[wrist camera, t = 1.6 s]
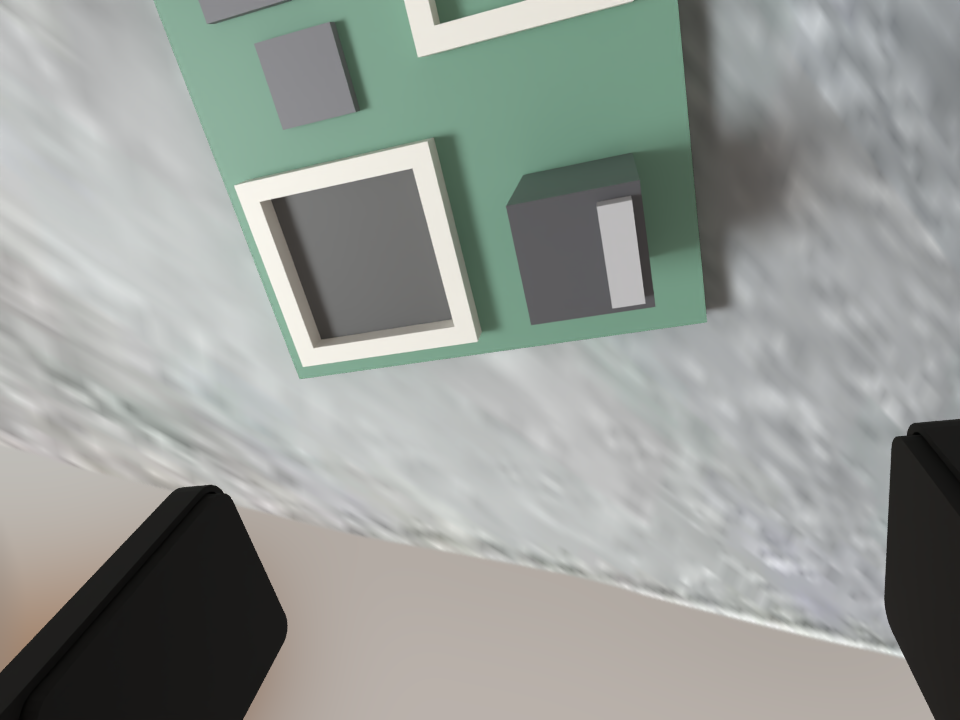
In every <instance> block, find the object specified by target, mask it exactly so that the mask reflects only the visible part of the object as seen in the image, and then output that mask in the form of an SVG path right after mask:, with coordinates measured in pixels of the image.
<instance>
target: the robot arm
mask: <svg viewBox="0 0 960 720" xmlns="http://www.w3.org/2000/svg"><path fill="white" fill-rule="evenodd" d="M884 600H885V610H886V614H887V619H888V622H889V625H890V627H891V630H892V632H893V634H894V636H895V638H896V640H897V642H898V644H899V646H900V649H901V651H902V653H903V655H904V657H905V659H906V661H907V663H908V665H909V667H910V669H911V671H912V673H913V675H914V677H915V679H916V681H917V683H918V685H919V687H920V690H921V692H922V693H923V696H924V697H925V700H926V702H927V704H928V706H929V708H930V710H931V712H932V714H933V716H934V718H935V720H960V419H954V420H943V421H932V422H920V423H913V424H912V425H910V427H909V429H908V432H907V436H898V437H895V438H894V440H893V442H892V449H891V470H890V491H889V511H888V532H887V553H886V574H885V595H884ZM286 634H287V618H286V615H285V613H284V611H283V609H282V607H281V604H280V602H279V600H278V598H277V596H276V593H275V591H274V589H273V587H272V585H271V583H270V580H269V579H268V576H267V574H266V572H265V570H264V567H263V565H262V563H261V561H260V559H259V557H258V554H257V552H256V551H255V548H254V546H253V544H252V542H251V539H250V537H249V535H248V533H247V531H246V529H245V526H244V524H243V522H242V520H241V518H240V515H239V513H238V511H237V509H236V507H235V504H234V502H233V500H232V499H231V497H230V496H229V495H227V494H225V493H223V491H222V490H221V489H220V488H219V487H217V486H214V485H204V486H192V487H182V488H178V489H176V490H175V491H173V492H172V493H171V494H170V495H169V496H168V497H167V498H166V499H165V500H164V501H163V502H162V503H161V504H160V506H159V507H158V508H157V509H156V510H155V511H154V512H153V513H152V514H151V515H150V516H149V517H148V518H147V519H146V520H145V521H144V522H143V523H142V524H141V526H140V527H139V528H138V529H137V530H136V531H135V532H134V533H133V534H132V535H131V536H130V537H129V538H128V539H127V540H126V541H125V542H124V543H123V544H122V545H121V546H120V548H119V549H118V550H117V551H116V552H115V553H114V554H113V555H112V556H111V557H110V558H109V559H108V560H107V561H106V562H105V563H104V564H103V566H101V567H100V569H99V570H98V571H97V572H96V573H95V574H94V575H93V576H92V577H91V578H90V579H89V580H88V581H87V582H86V583H85V584H84V585H83V587H81V588H80V590H79V591H78V592H77V593H76V594H75V595H74V596H73V597H72V598H71V599H70V600H69V601H68V602H67V603H66V604H65V605H64V606H63V607H62V609H60V611H59V612H58V613H57V614H56V615H55V616H54V617H53V618H52V619H51V620H50V621H49V622H48V623H47V624H46V625H45V626H44V628H42V629H41V630H40V632H39V633H38V634H37V635H36V636H35V637H34V638H33V639H32V640H31V641H30V642H29V643H28V644H27V645H26V646H25V647H24V648H23V649H22V650H21V652H20V653H19V654H18V655H17V656H16V657H15V658H14V659H13V660H12V661H11V662H10V663H9V664H8V665H7V666H6V667H5V668H4V669H3V670H2V672H1V673H0V720H243V718H244V716H245V715H246V713H247V711H248V709H249V707H250V705H251V703H252V701H253V700H254V698H255V696H256V694H257V692H258V690H259V688H260V686H261V684H262V683H263V681H264V678H265V677H266V675H267V673H268V671H269V669H270V667H271V666H272V664H273V662H274V660H275V658H276V656H277V654H278V652H279V650H280V648H281V646H282V645H283V643H284V641H285V638H286Z"/></svg>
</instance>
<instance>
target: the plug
mask: <svg viewBox="0 0 960 720" xmlns="http://www.w3.org/2000/svg"><path fill="white" fill-rule="evenodd" d="M506 209H507V214H508V219H509V223H510V228H511V233H512V238H513V242H514V247H515V252H516V256H517V261H518V266H519V271H520V275H521V280H522V285H523V289H524V294H525V299H526V303H527V308H528V313H529V318H530V322H531V325H537V324H544V323H550V322H557V321H564V320H571V319H577V318H584V317H591V316H598V315H604V314H611V313H618V312H625V311H631V310H638V309H645V308H652V307H656V306H655V298H654V290H653V282H652V274H651V266H650V258H649V250H648V242H647V234H646V226H645V218H644V210H643V202H642V194H641V186H640V179H639V175H638V172H637V168H636V164H635V161H634V157H633V153H627V154H622V155H617V156H613V157H608V158H603V159H598V160H593V161H588V162H584V163H579V164H574V165H569V166H564V167H560V168H555V169H550V170H545V171H540V172H535V173H531V174H526V175H523V176H522V178H521V180H520V182H519V183H518V185H517V187H516V189H515V191H514V192H513V194H512V196H511V198H510V200H509V201H508V203H507V205H506Z"/></svg>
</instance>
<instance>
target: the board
mask: <svg viewBox="0 0 960 720" xmlns="http://www.w3.org/2000/svg"><path fill="white" fill-rule="evenodd" d="M154 3H155V5H156V8H157V11H158V13H159V16H160V18H161V21H162V24H163V26H164V29H165V31H166V34H167V37H168V39H169V42H170V44H171V47H172V50H173V52H174V55H175V57H176V60H177V62H178V65H179V68H180V70H181V73H182V75H183V78H184V81H185V83H186V86H187V88H188V91H189V94H190V96H191V99H192V101H193V104H194V107H195V109H196V112H197V114H198V117H199V119H200V122H201V125H202V127H203V130H204V132H205V135H206V138H207V140H208V143H209V145H210V148H211V151H212V153H213V156H214V158H215V161H216V164H217V166H218V169H219V171H220V174H221V176H222V179H223V182H224V184H225V187H226V189H227V192H228V195H229V197H230V200H231V202H232V205H233V208H234V210H235V213H236V215H237V218H238V221H239V223H240V226H241V228H242V231H243V233H244V236H245V239H246V241H247V244H248V246H249V249H250V252H251V254H252V257H253V259H254V262H255V265H256V267H257V270H258V272H259V275H260V278H261V280H262V283H263V285H264V288H265V290H266V293H267V296H268V298H269V301H270V303H271V306H272V309H273V311H274V314H275V316H276V319H277V322H278V324H279V327H280V329H281V332H282V335H283V337H284V340H285V342H286V345H287V347H288V350H289V353H290V355H291V358H292V360H293V363H294V366H295V368H296V371H297V373H298V376H299V379H305V378H312V377H319V376H326V375H333V374H340V373H347V372H355V371H362V370H369V369H376V368H383V367H390V366H398V365H405V364H412V363H419V362H426V361H433V360H440V359H448V358H455V357H462V356H469V355H476V354H483V353H491V352H498V351H505V350H512V349H519V348H526V347H533V346H541V345H548V344H555V343H562V342H569V341H576V340H584V339H591V338H598V337H605V336H612V335H619V334H626V333H634V332H641V331H648V330H655V329H662V328H669V327H677V326H684V325H691V324H698V323H705V322H707V318H706V307H705V296H704V285H703V274H702V263H701V252H700V241H699V230H698V219H697V208H696V197H695V186H694V175H693V164H692V153H691V142H690V131H689V120H688V109H687V98H686V87H685V76H684V65H683V54H682V43H681V32H680V21H679V10H678V0H154ZM627 153H633V157H634V161H635V164H636V168H637V172H638V175H639V179H640V186H641V194H642V202H643V210H644V218H645V226H646V234H647V242H648V250H649V258H650V266H651V274H652V282H653V290H654V298H655V306H656V307H652V308H645V309H638V310H631V311H625V312H618V313H611V314H604V315H598V316H591V317H584V318H577V319H571V320H564V321H557V322H550V323H544V324H537V325H531V322H530V318H529V313H528V308H527V303H526V299H525V294H524V289H523V285H522V280H521V275H520V271H519V266H518V261H517V256H516V252H515V247H514V242H513V238H512V233H511V228H510V223H509V219H508V214H507V209H506V205H507V203H508V201H509V200H510V198H511V196H512V194H513V192H514V191H515V189H516V187H517V185H518V183H519V182H520V180H521V178H522V176H523V175H526V174H531V173H535V172H540V171H545V170H550V169H555V168H560V167H564V166H569V165H574V164H579V163H584V162H588V161H593V160H598V159H603V158H608V157H613V156H617V155H622V154H627Z"/></svg>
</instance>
